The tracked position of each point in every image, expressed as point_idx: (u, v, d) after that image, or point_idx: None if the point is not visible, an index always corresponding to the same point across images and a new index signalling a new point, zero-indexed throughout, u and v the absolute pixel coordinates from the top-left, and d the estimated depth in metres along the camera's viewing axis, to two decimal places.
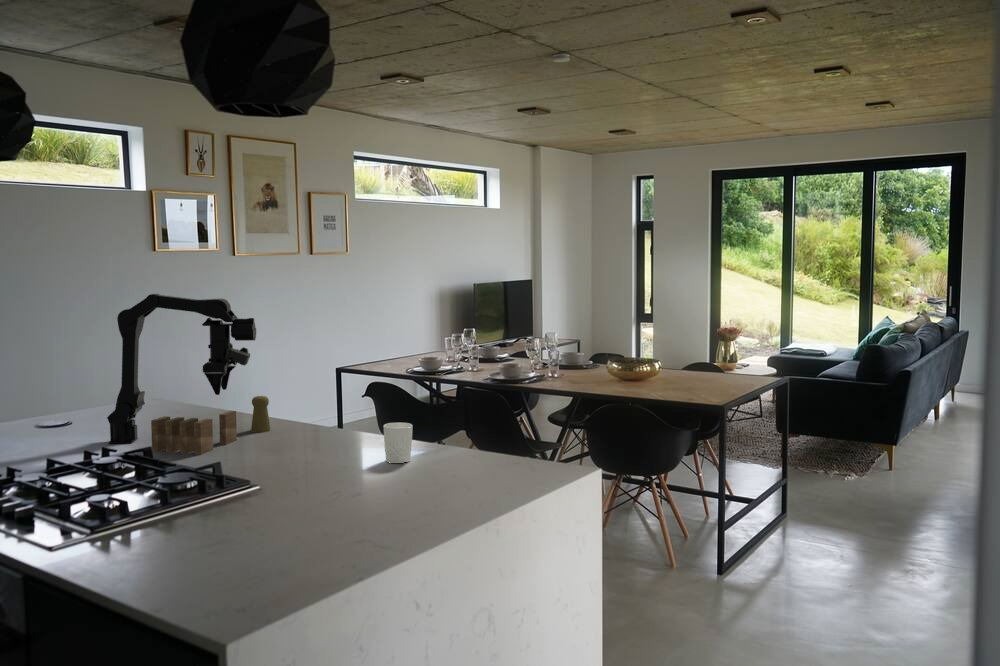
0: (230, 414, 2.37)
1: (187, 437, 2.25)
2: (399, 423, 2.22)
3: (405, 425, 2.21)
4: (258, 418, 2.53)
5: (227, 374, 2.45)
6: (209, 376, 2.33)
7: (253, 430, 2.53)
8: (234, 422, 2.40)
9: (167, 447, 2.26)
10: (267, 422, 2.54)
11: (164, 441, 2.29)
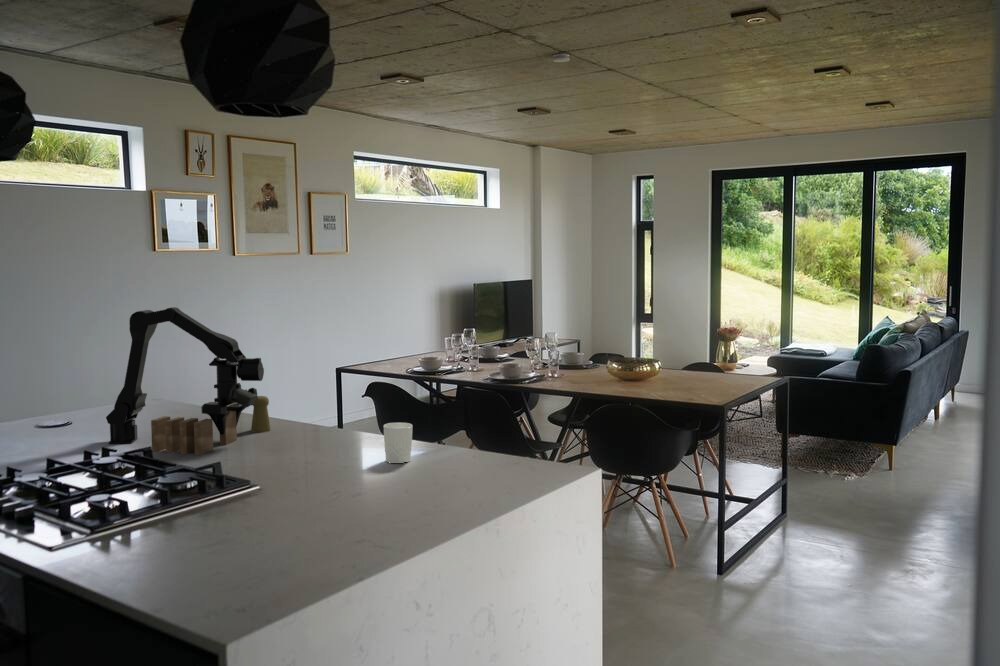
0: (230, 414, 2.37)
1: (187, 437, 2.25)
2: (399, 423, 2.22)
3: (405, 425, 2.21)
4: (258, 418, 2.53)
5: (236, 414, 2.41)
6: (212, 416, 2.33)
7: (253, 430, 2.53)
8: (234, 422, 2.40)
9: (167, 447, 2.26)
10: (267, 422, 2.54)
11: (164, 441, 2.29)
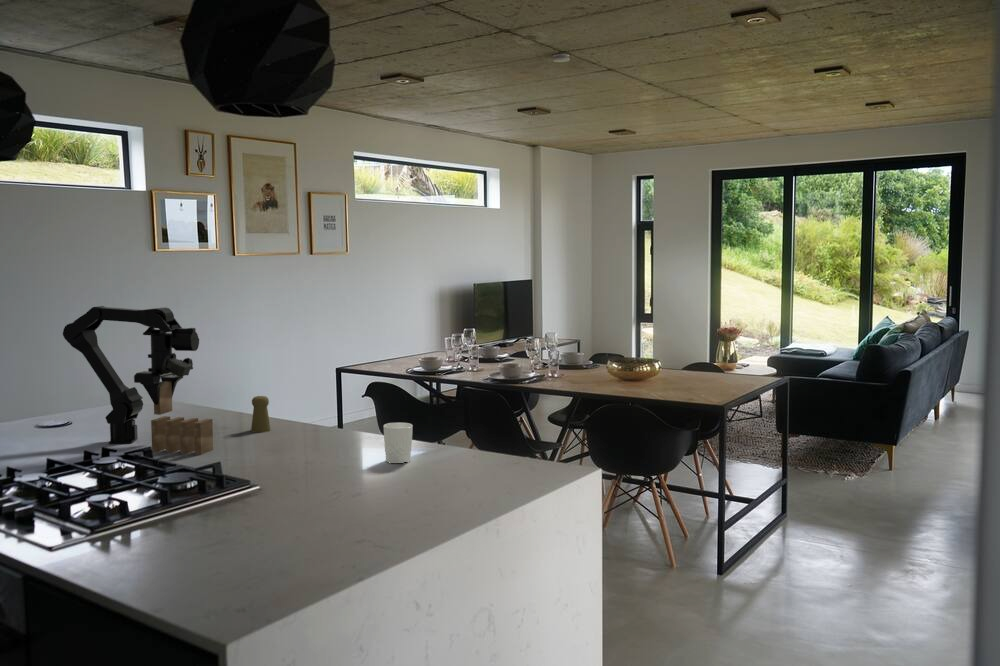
0: (165, 384, 2.36)
1: (187, 437, 2.25)
2: (399, 423, 2.22)
3: (405, 425, 2.21)
4: (258, 418, 2.53)
5: (172, 385, 2.39)
6: (146, 385, 2.31)
7: (253, 430, 2.53)
8: (169, 392, 2.38)
9: (167, 447, 2.26)
10: (267, 422, 2.54)
11: (164, 441, 2.29)
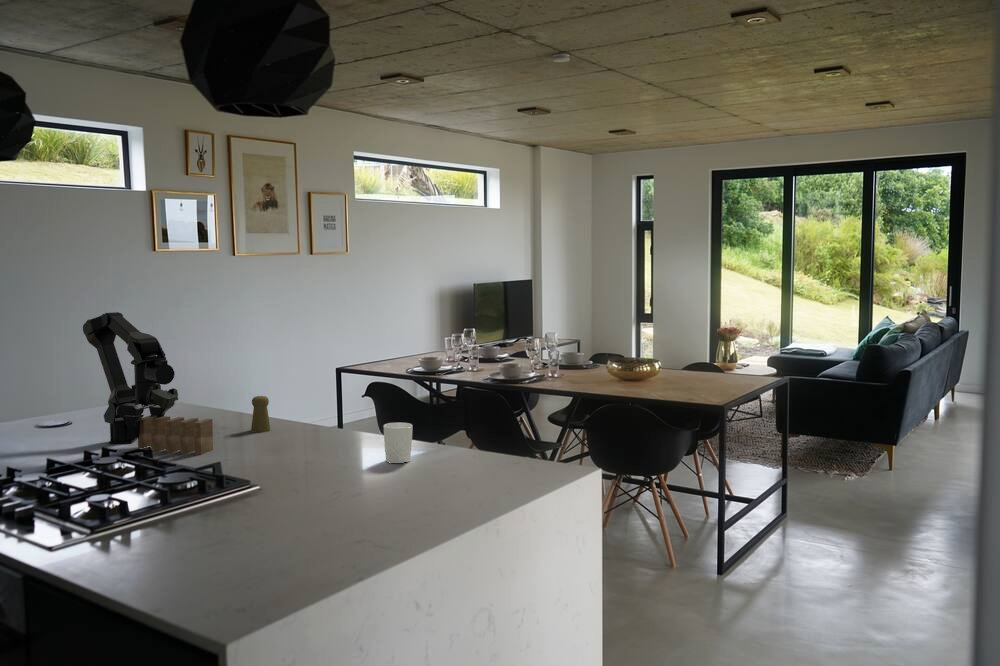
0: (149, 419, 2.29)
1: (187, 437, 2.25)
2: (399, 423, 2.22)
3: (405, 425, 2.21)
4: (258, 418, 2.53)
5: (160, 415, 2.34)
6: (126, 418, 2.24)
7: (253, 430, 2.53)
8: None
9: (167, 447, 2.26)
10: (267, 422, 2.54)
11: (164, 441, 2.29)
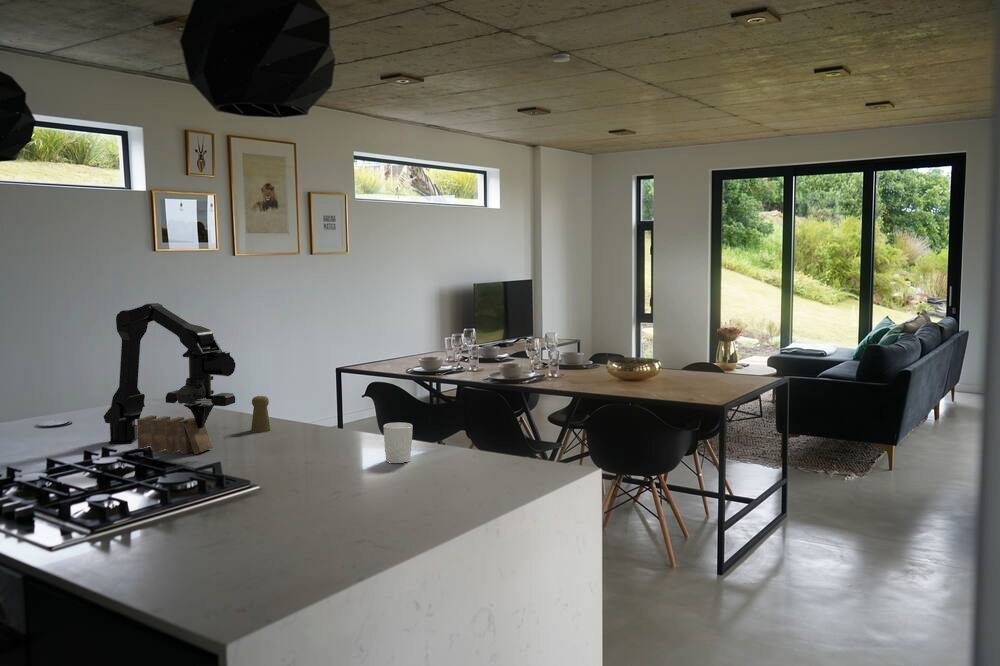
0: (149, 419, 2.29)
1: (186, 436, 2.25)
2: (399, 423, 2.22)
3: (405, 425, 2.21)
4: (258, 418, 2.53)
5: None
6: None
7: (253, 430, 2.53)
8: None
9: (167, 447, 2.26)
10: (267, 422, 2.54)
11: (164, 441, 2.29)
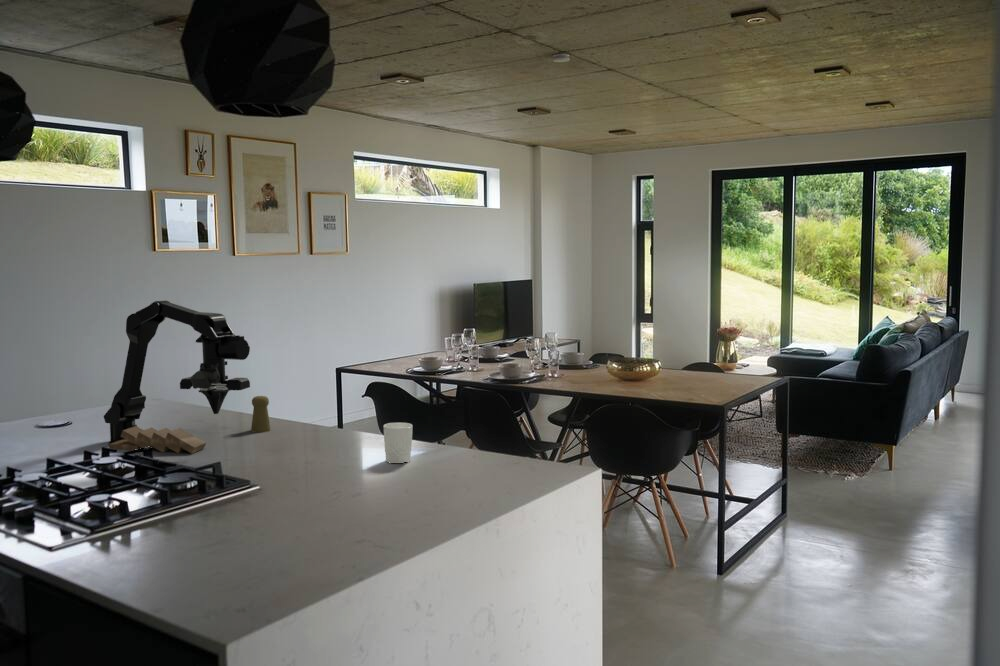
0: (116, 441, 2.32)
1: None
2: (399, 423, 2.22)
3: (405, 425, 2.21)
4: (258, 418, 2.53)
5: None
6: None
7: (253, 430, 2.53)
8: None
9: (159, 448, 2.26)
10: (267, 422, 2.54)
11: None
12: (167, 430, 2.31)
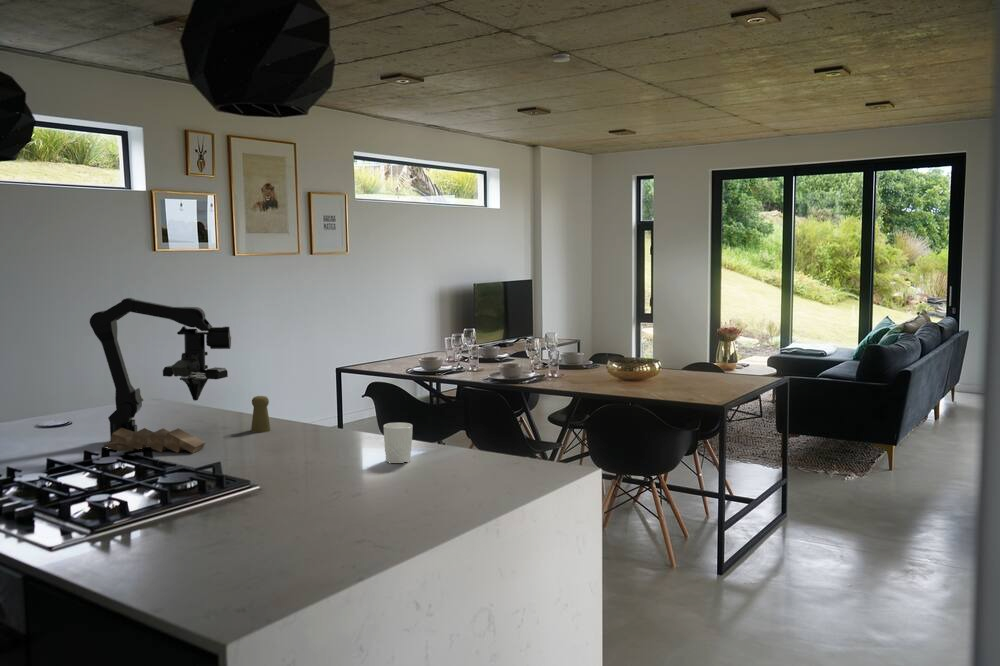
0: (111, 442, 2.31)
1: None
2: (399, 423, 2.22)
3: (405, 425, 2.21)
4: (258, 418, 2.53)
5: None
6: None
7: (253, 430, 2.53)
8: None
9: (156, 448, 2.26)
10: (267, 422, 2.54)
11: None
12: (164, 430, 2.30)
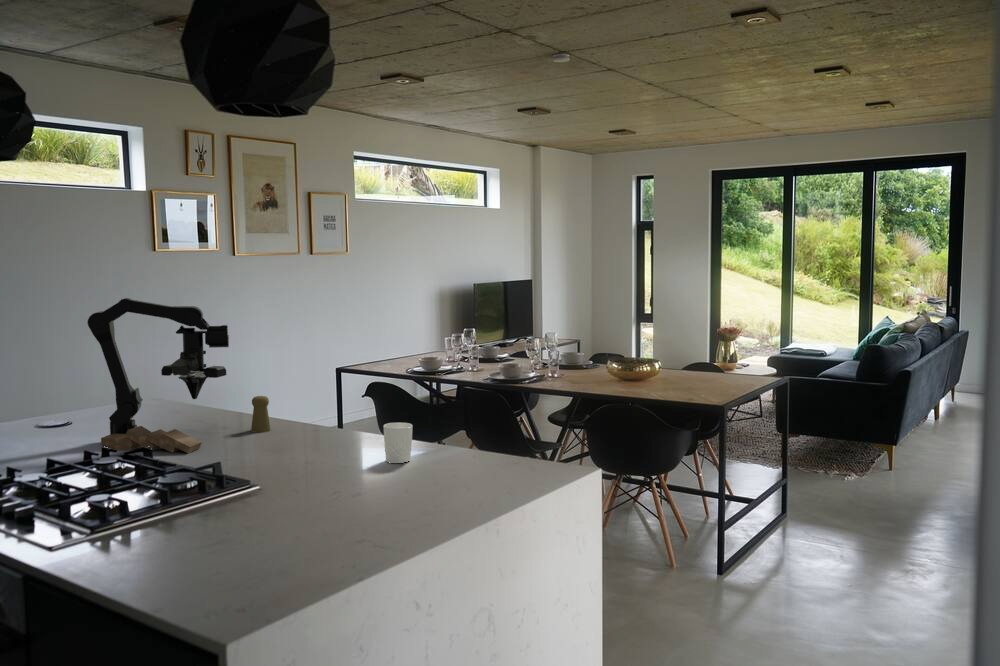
0: None
1: None
2: (399, 423, 2.22)
3: (405, 425, 2.21)
4: (258, 418, 2.53)
5: None
6: None
7: (253, 430, 2.53)
8: None
9: None
10: (267, 422, 2.54)
11: None
12: (161, 431, 2.31)
